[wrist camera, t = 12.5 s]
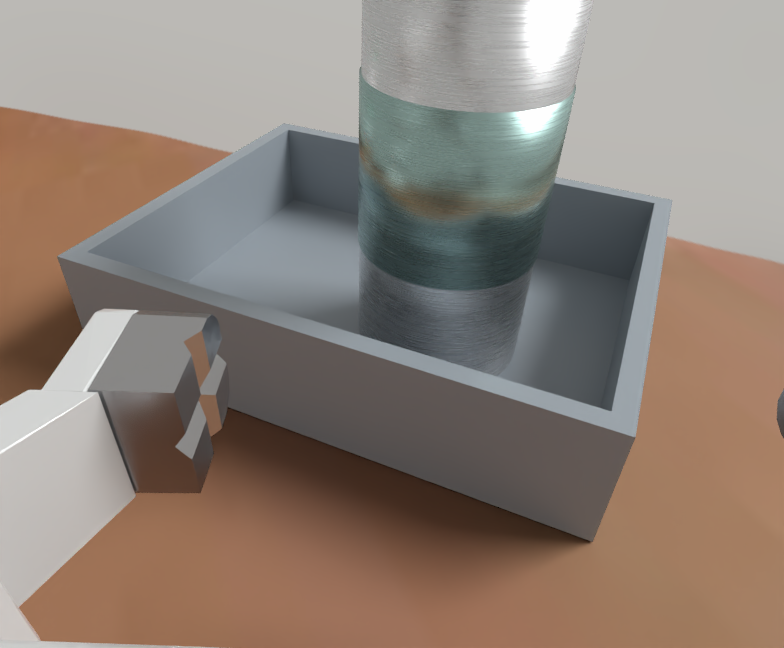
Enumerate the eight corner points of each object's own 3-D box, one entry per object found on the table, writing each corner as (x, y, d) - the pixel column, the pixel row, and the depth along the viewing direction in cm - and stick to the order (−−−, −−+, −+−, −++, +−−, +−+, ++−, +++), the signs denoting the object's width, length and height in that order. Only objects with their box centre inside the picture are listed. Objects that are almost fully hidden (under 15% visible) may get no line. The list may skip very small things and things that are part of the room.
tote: (93, 357, 21) (57, 256, 19) (290, 203, 31) (283, 123, 28) (592, 541, 16) (635, 437, 14) (642, 288, 26) (672, 200, 23)
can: (328, 359, 21) (316, -57, 13) (394, 274, 25) (414, -78, 17) (491, 413, 19) (583, -26, 11) (532, 313, 23) (621, -58, 16)
